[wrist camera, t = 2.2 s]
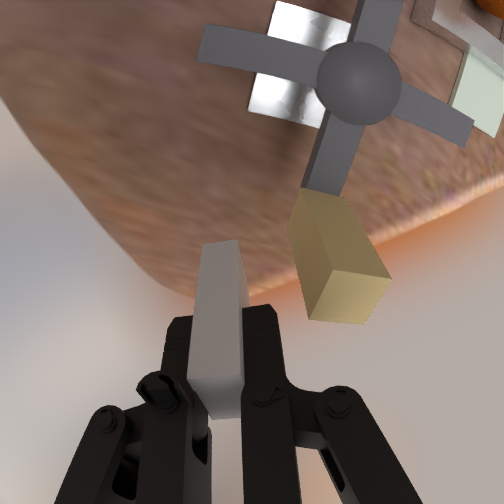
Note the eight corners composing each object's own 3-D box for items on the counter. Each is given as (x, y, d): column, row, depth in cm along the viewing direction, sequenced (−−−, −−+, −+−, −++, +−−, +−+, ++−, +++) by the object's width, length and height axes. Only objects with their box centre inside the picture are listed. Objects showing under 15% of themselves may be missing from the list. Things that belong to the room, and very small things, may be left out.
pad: (465, 47, 17) (470, 48, 17) (509, 80, 18) (513, 81, 18) (446, 109, 20) (450, 111, 20) (490, 136, 21) (494, 138, 21)
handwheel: (245, -97, 8) (253, -180, 2) (492, 13, 10) (591, 29, 4) (175, 198, 17) (143, 295, 11) (406, 243, 19) (460, 330, 13)
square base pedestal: (275, 2, 16) (293, -18, 11) (384, 40, 18) (438, 43, 12) (247, 108, 21) (252, 134, 15) (353, 136, 22) (392, 172, 16)
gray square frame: (433, -80, 10) (453, -88, 8) (524, -10, 12) (545, -8, 10) (410, 20, 16) (431, 19, 14) (504, 82, 18) (527, 90, 16)
